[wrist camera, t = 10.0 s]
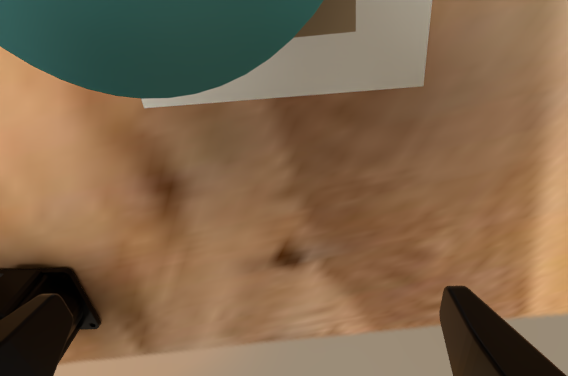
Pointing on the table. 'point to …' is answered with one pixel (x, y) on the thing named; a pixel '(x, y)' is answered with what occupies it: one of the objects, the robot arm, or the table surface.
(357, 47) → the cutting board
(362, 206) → the table surface
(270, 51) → the teal cylinder
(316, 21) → the tower top
